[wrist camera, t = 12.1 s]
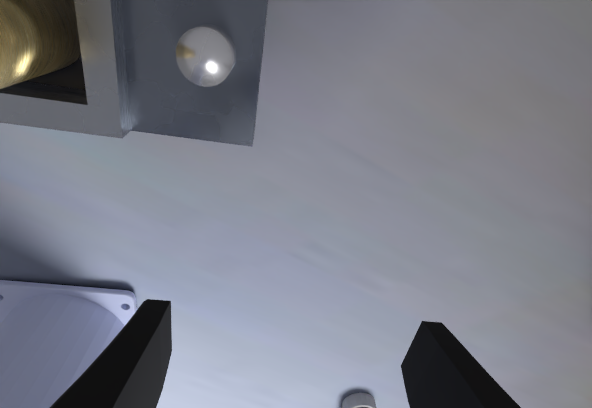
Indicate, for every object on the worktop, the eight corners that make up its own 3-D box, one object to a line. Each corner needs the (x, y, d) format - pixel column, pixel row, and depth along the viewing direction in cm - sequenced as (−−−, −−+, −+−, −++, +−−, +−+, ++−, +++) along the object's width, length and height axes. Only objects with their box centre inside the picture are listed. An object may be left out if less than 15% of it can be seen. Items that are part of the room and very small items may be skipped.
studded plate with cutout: (253, 138, 17) (250, 159, 15) (-177, 80, 15) (-253, 94, 13) (273, -48, 13) (271, -56, 11) (-291, -158, 11) (-425, -195, 9)
